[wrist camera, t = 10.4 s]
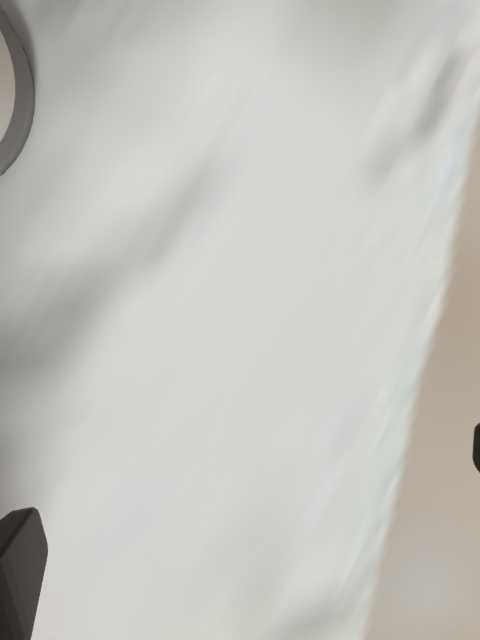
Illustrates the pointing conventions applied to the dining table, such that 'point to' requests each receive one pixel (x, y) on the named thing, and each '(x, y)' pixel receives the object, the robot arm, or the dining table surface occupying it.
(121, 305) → the dining table surface
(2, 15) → the ring coaster
